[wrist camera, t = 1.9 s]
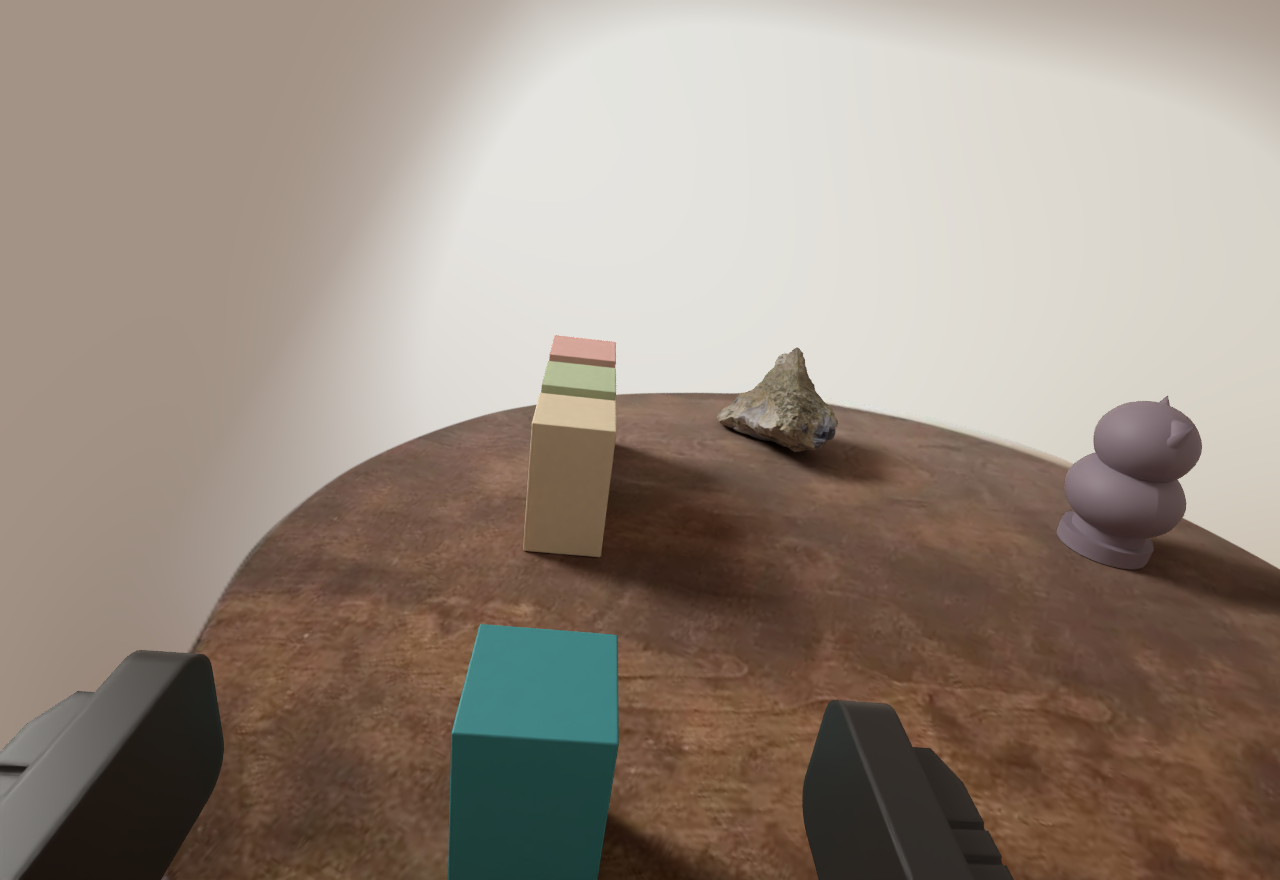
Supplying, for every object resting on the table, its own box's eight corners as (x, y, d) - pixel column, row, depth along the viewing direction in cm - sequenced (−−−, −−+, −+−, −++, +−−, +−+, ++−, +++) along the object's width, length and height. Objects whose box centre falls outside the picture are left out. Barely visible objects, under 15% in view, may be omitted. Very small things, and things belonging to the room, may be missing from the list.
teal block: (589, 928, 25) (619, 744, 22) (446, 923, 25) (450, 733, 21) (593, 804, 30) (618, 634, 26) (472, 797, 29) (479, 623, 26)
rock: (706, 408, 69) (783, 338, 69) (738, 446, 72) (812, 379, 72) (762, 461, 60) (852, 380, 59) (795, 501, 63) (881, 425, 63)
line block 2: (602, 507, 52) (616, 392, 48) (533, 500, 52) (541, 384, 48) (603, 475, 57) (615, 367, 53) (539, 469, 56) (548, 360, 53)
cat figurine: (1039, 507, 61) (1094, 376, 56) (1143, 535, 59) (1209, 400, 54) (1050, 555, 54) (1114, 409, 49) (1169, 589, 52) (1248, 439, 47)
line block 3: (600, 558, 46) (616, 431, 42) (522, 551, 46) (531, 422, 42) (601, 517, 51) (616, 400, 47) (531, 511, 50) (539, 392, 47)
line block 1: (603, 466, 58) (615, 361, 54) (541, 460, 58) (549, 354, 54) (604, 440, 63) (615, 341, 59) (546, 434, 62) (554, 335, 58)
